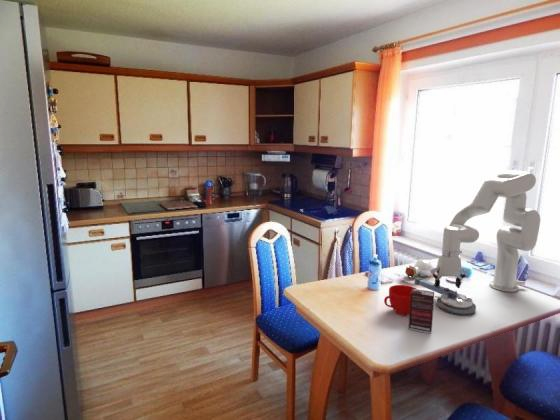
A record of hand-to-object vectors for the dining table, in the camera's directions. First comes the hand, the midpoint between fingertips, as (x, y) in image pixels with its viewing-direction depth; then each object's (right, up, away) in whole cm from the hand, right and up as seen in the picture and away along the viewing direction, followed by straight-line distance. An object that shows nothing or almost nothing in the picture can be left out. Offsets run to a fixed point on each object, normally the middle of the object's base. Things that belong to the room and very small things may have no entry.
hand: (447, 287), depth 178 cm
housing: (-1, -7, -11) cm, 13 cm away
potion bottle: (-4, 0, +27) cm, 27 cm away
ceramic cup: (-28, -8, -16) cm, 34 cm away
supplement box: (-25, -11, -30) cm, 40 cm away
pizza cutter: (-5, -4, -5) cm, 8 cm away
